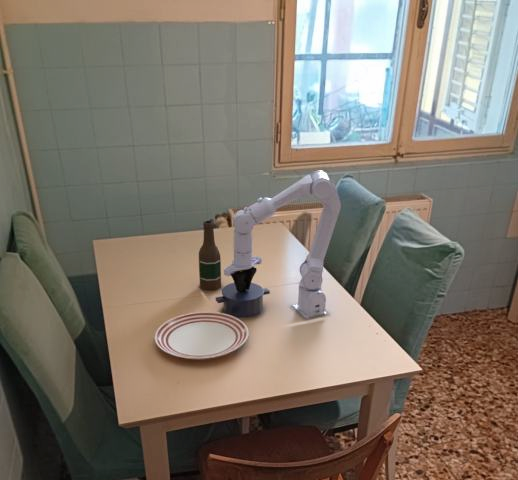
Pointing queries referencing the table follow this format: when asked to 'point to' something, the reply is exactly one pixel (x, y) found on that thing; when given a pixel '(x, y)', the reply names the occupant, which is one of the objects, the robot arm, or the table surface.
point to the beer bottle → (209, 260)
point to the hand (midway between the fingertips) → (242, 290)
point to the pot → (242, 306)
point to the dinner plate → (201, 335)
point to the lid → (246, 295)
